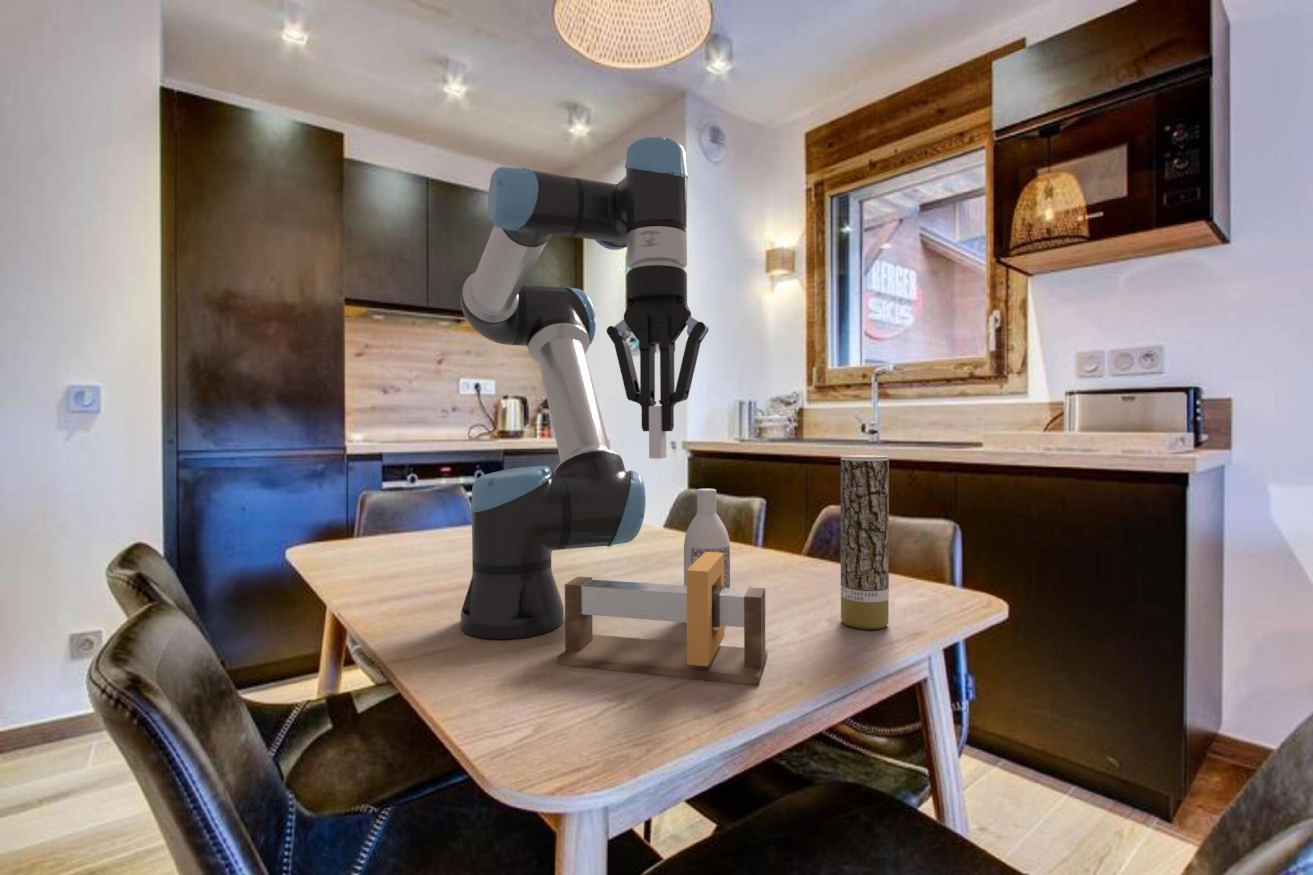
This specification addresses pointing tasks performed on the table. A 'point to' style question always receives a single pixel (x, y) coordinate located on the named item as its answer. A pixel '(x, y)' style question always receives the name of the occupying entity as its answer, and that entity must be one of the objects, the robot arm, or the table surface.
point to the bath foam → (706, 534)
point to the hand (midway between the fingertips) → (657, 457)
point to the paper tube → (865, 541)
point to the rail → (658, 602)
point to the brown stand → (664, 646)
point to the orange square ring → (703, 608)
